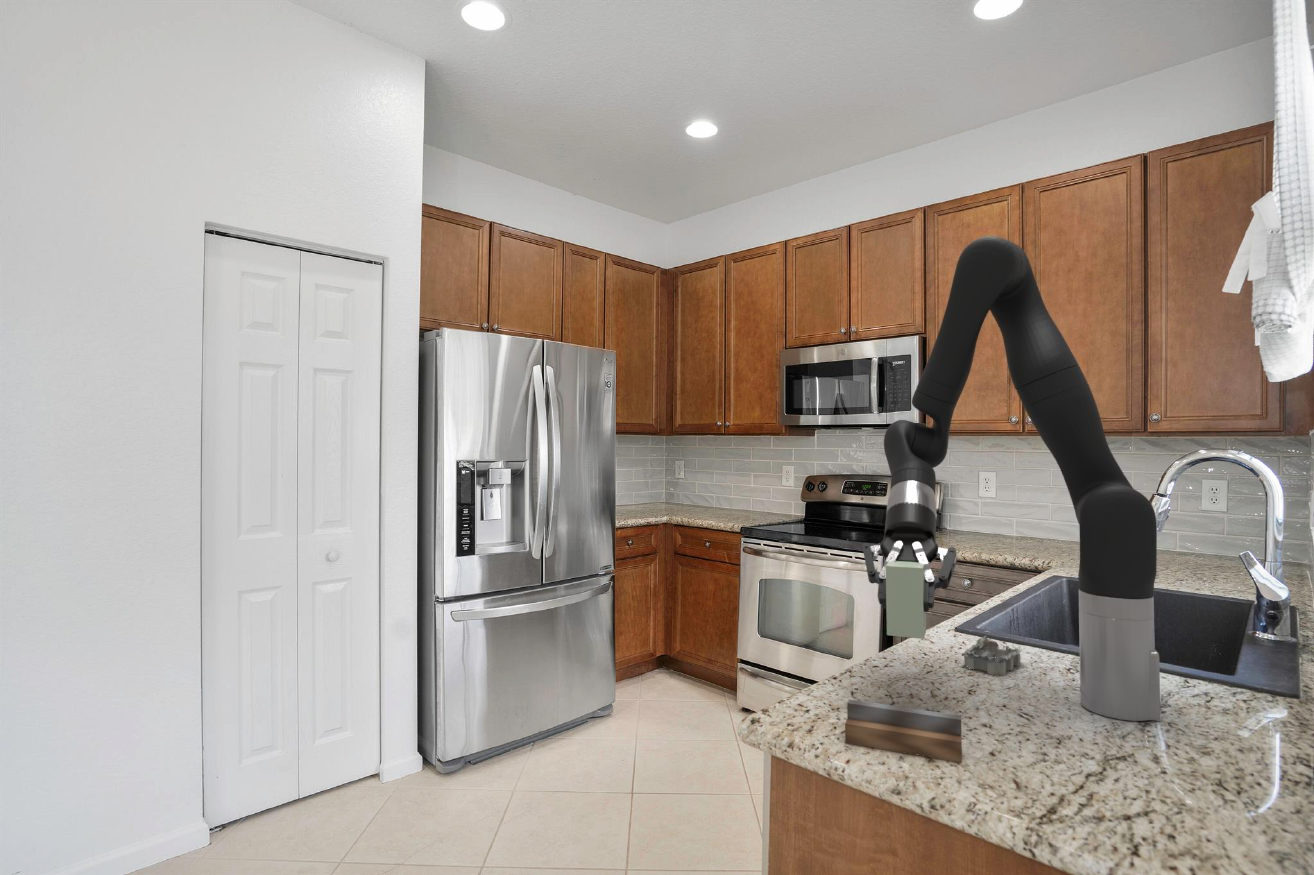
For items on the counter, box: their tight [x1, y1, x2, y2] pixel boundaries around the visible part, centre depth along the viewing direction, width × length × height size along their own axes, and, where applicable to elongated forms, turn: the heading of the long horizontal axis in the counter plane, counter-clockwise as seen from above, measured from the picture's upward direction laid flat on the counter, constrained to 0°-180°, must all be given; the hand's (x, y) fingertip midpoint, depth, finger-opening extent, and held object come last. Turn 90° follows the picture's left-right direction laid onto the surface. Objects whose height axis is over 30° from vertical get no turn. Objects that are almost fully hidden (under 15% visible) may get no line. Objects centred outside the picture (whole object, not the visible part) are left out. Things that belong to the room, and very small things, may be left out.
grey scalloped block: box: [961, 635, 1023, 676], centre depth 119 cm, size 11×8×4 cm
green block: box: [885, 561, 927, 640], centre depth 98 cm, size 5×5×10 cm
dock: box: [844, 698, 963, 763], centre depth 90 cm, size 14×10×4 cm
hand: (905, 606), depth 97 cm, fingers closed on green block, 5 cm apart
